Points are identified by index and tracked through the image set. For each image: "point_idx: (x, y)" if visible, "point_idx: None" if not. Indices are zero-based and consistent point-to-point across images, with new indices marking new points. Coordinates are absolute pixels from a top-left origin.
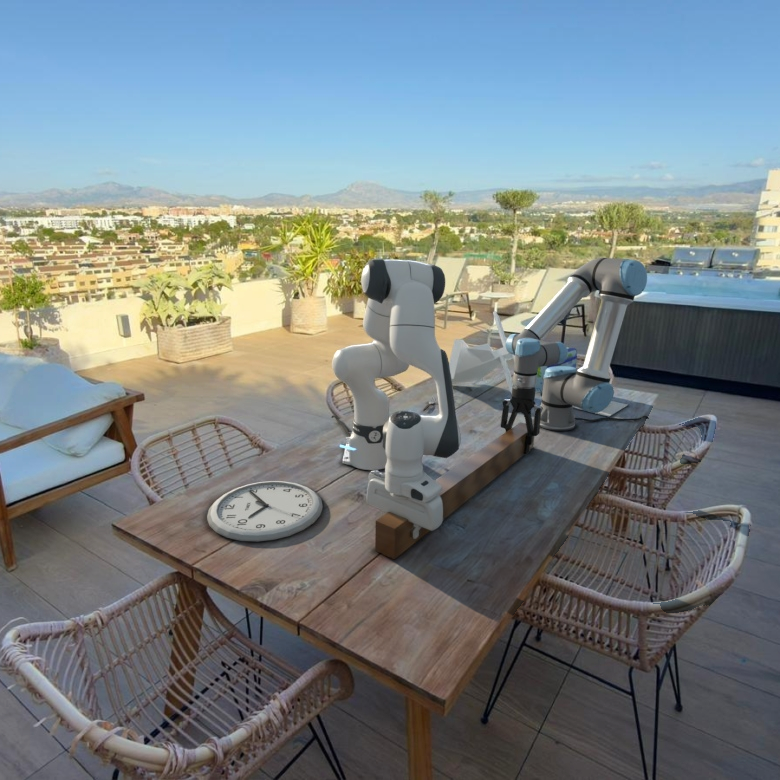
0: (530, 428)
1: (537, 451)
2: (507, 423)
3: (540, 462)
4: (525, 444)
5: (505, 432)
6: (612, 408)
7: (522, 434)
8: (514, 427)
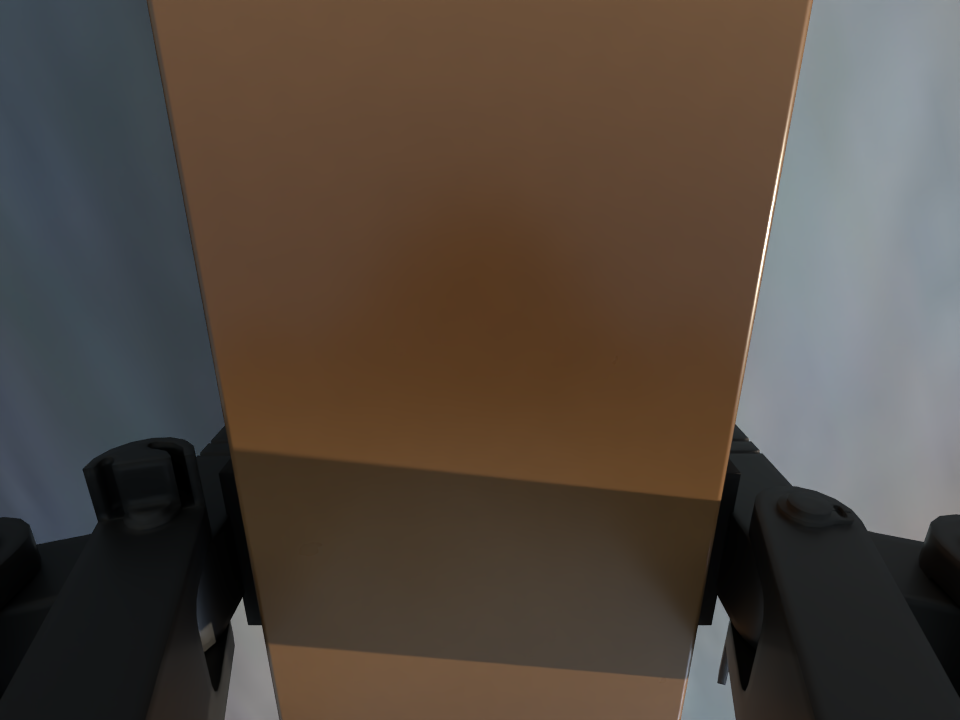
0: (25, 687)
1: None
2: (930, 655)
3: (91, 249)
4: None
5: (779, 158)
6: None
7: (244, 362)
8: (653, 663)
